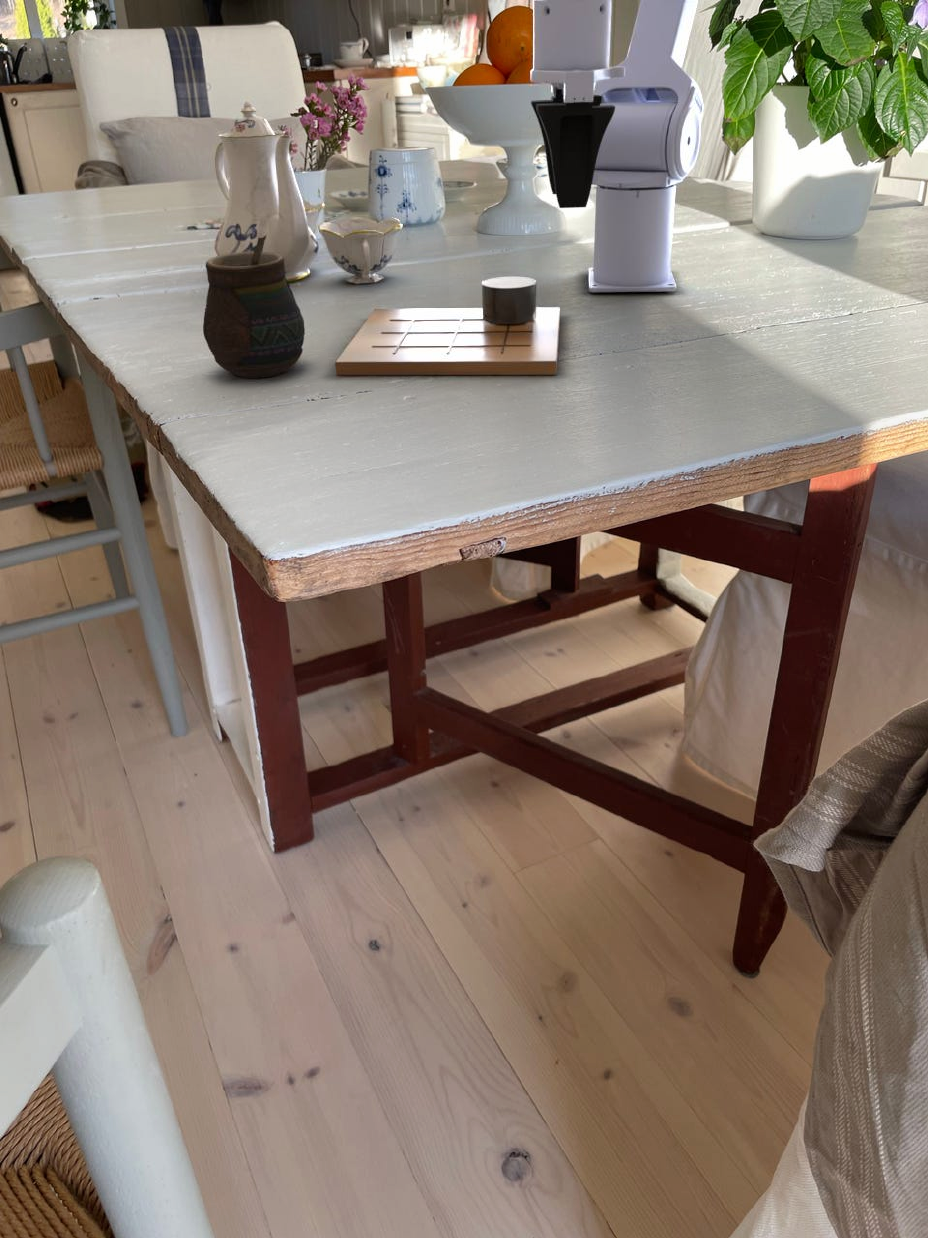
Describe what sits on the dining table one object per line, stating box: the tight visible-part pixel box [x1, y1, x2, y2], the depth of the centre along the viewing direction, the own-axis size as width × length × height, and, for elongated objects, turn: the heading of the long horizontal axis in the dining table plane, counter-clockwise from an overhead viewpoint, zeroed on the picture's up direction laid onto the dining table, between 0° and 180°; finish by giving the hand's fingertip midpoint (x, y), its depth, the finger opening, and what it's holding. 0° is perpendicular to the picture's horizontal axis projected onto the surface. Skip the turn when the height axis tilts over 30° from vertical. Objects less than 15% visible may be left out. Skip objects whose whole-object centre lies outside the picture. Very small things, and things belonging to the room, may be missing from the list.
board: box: [334, 306, 561, 376], centre depth 77 cm, size 16×16×1 cm
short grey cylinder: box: [481, 276, 538, 324], centre depth 79 cm, size 4×4×3 cm
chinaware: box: [213, 100, 404, 285], centre depth 100 cm, size 28×17×17 cm, turn 40°
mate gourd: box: [202, 235, 306, 379], centre depth 70 cm, size 7×8×10 cm
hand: (568, 199), depth 78 cm, fingers open, 7 cm apart
